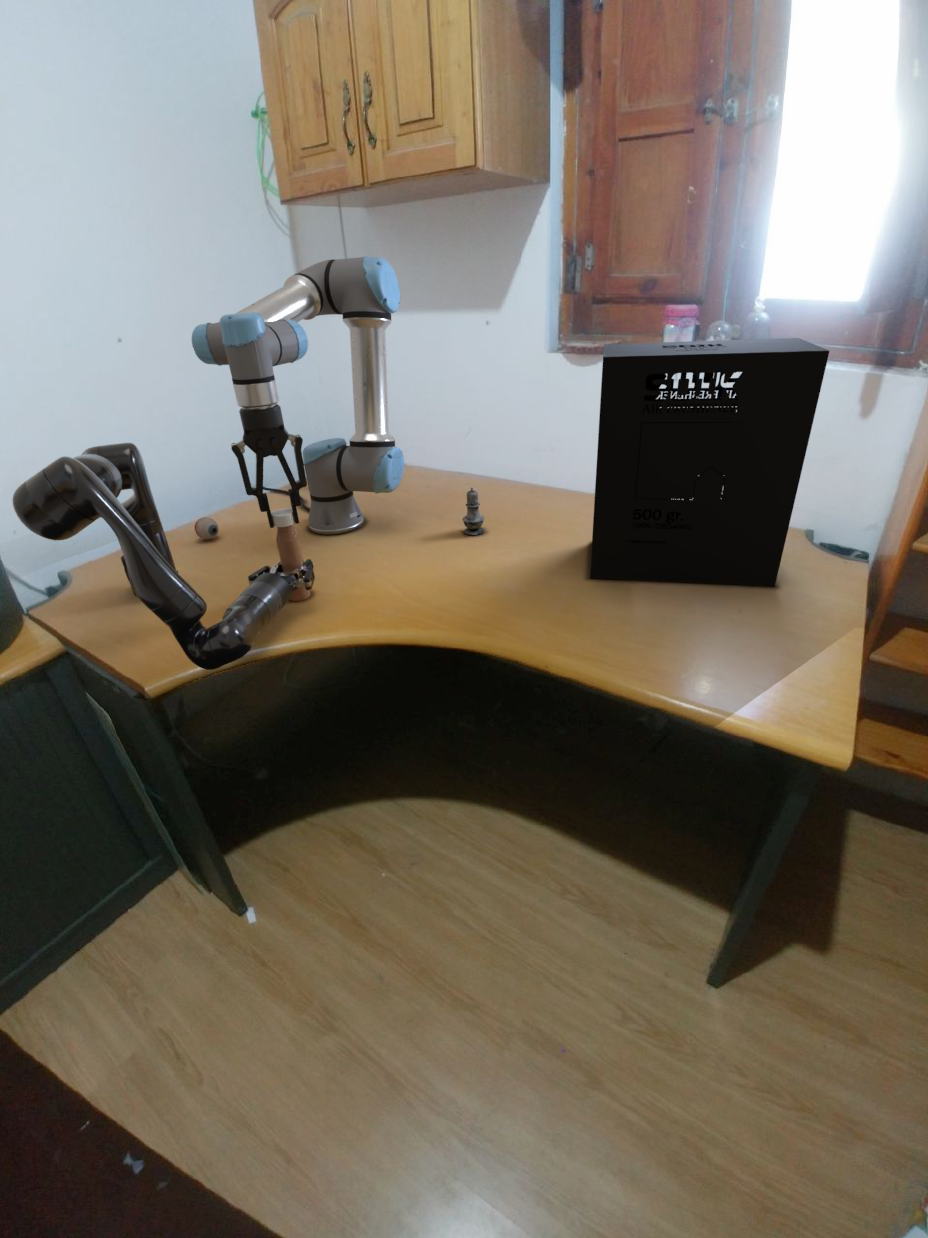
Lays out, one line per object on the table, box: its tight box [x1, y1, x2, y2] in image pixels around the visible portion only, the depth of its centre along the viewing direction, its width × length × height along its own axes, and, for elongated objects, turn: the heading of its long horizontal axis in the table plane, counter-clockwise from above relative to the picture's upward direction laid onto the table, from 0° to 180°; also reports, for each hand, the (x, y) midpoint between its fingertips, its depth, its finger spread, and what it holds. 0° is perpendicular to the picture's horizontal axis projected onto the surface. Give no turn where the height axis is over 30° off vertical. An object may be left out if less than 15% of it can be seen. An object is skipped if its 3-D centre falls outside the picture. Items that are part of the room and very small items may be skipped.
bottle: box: [275, 524, 311, 602], centre depth 128 cm, size 5×5×19 cm
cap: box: [271, 508, 296, 528], centre depth 124 cm, size 4×4×2 cm
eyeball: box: [194, 516, 220, 541], centre depth 163 cm, size 6×6×6 cm
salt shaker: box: [461, 487, 485, 536], centre depth 157 cm, size 6×6×12 cm
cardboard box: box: [589, 337, 830, 587], centre depth 126 cm, size 38×20×45 cm, turn 78°
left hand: (298, 562), depth 132 cm, fingers closed on bottle, 4 cm apart
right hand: (284, 523), depth 124 cm, fingers closed on cap, 4 cm apart
